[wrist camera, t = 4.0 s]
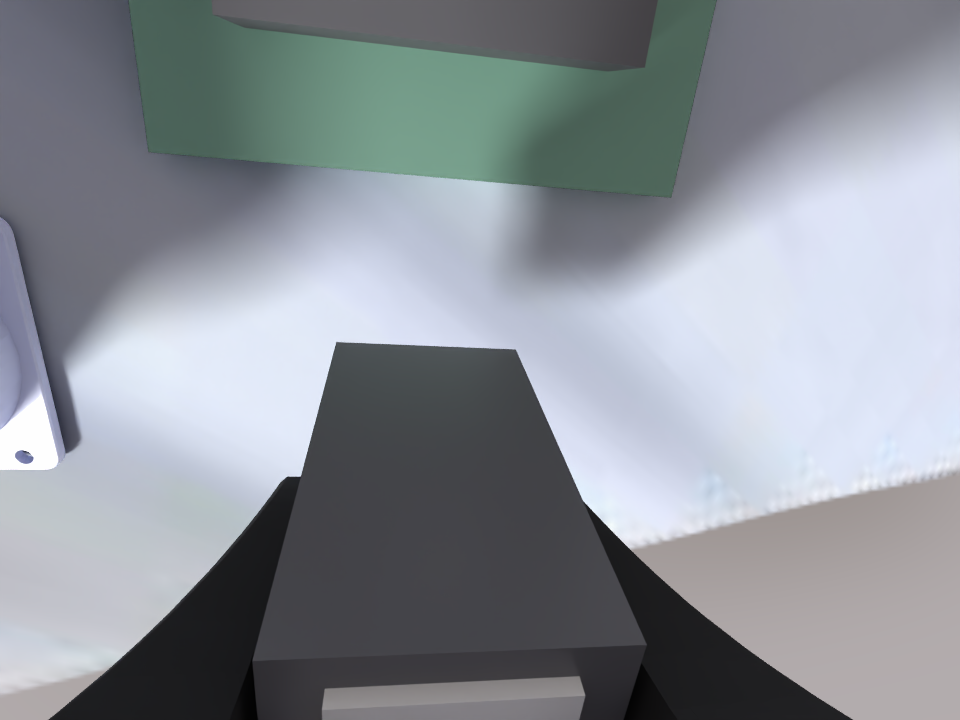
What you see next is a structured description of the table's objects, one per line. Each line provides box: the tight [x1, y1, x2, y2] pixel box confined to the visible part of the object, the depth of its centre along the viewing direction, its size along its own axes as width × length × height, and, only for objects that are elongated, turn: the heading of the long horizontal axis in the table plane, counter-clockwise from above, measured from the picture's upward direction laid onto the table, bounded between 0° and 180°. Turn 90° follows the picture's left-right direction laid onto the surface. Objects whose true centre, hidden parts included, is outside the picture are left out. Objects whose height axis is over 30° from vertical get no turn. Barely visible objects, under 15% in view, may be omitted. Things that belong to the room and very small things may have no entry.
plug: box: [252, 342, 647, 720], centre depth 9 cm, size 4×5×7 cm
